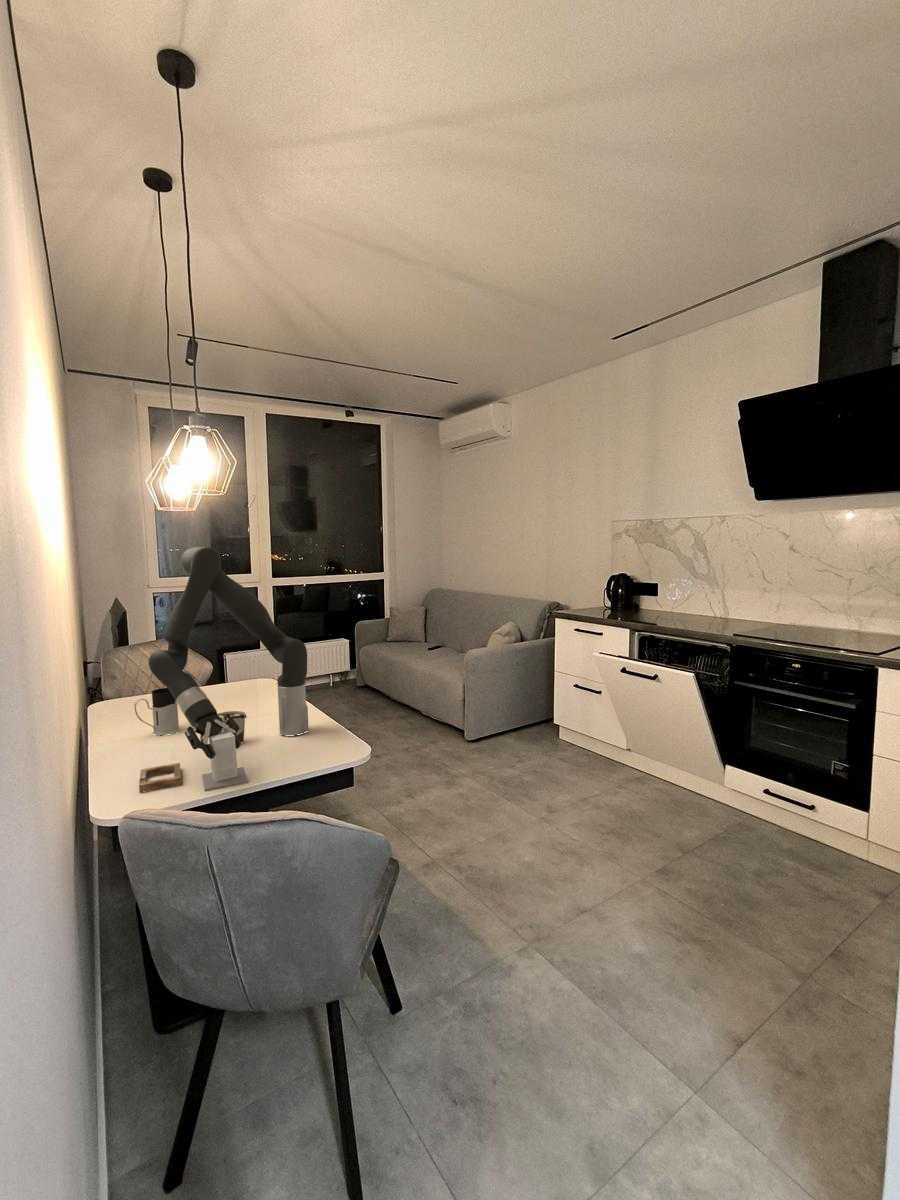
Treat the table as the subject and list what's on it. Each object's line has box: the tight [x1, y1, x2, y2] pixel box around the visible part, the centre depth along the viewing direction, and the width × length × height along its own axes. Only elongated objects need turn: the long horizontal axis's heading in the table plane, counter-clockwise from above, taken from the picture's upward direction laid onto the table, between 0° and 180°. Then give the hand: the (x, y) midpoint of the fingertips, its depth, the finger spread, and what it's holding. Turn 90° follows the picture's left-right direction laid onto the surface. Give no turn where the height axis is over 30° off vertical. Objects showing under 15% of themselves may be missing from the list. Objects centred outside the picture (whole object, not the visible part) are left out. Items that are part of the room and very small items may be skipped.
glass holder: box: [134, 687, 181, 736], centre depth 192 cm, size 9×14×15 cm, turn 141°
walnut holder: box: [138, 762, 182, 793], centre depth 154 cm, size 10×12×2 cm
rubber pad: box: [201, 766, 249, 792], centre depth 155 cm, size 11×11×1 cm
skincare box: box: [208, 732, 238, 782], centre depth 154 cm, size 6×4×12 cm
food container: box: [217, 710, 248, 743], centre depth 182 cm, size 12×6×10 cm, turn 134°
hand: (226, 751), depth 153 cm, fingers open, 8 cm apart
